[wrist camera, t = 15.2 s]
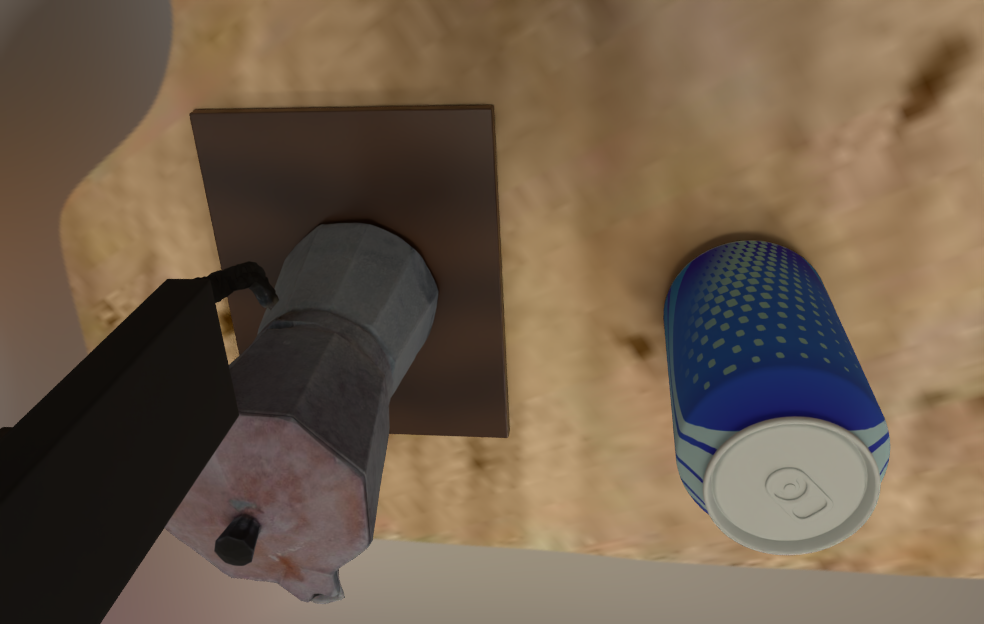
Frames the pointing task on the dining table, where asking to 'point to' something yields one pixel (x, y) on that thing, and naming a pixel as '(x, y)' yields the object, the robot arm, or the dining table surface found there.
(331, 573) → the moka pot
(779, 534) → the beer can
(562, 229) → the dining table surface
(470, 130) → the walnut trivet
